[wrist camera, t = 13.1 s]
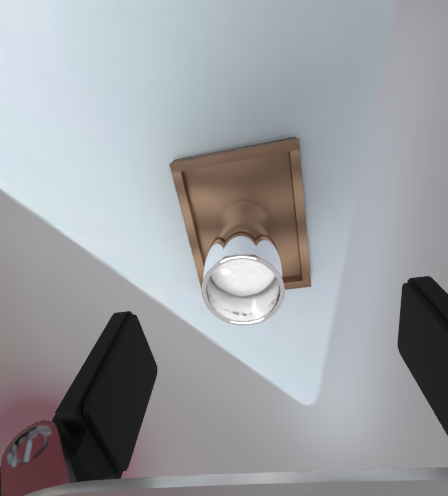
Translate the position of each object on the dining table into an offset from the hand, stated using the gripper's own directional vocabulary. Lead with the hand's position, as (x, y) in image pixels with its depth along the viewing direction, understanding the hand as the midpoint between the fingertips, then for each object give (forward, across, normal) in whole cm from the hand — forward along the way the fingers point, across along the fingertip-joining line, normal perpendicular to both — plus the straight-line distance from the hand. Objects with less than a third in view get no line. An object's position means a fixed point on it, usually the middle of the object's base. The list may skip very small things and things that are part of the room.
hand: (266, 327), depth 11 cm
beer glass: (+27, +2, +7) cm, 28 cm away
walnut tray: (+28, +2, +7) cm, 28 cm away
